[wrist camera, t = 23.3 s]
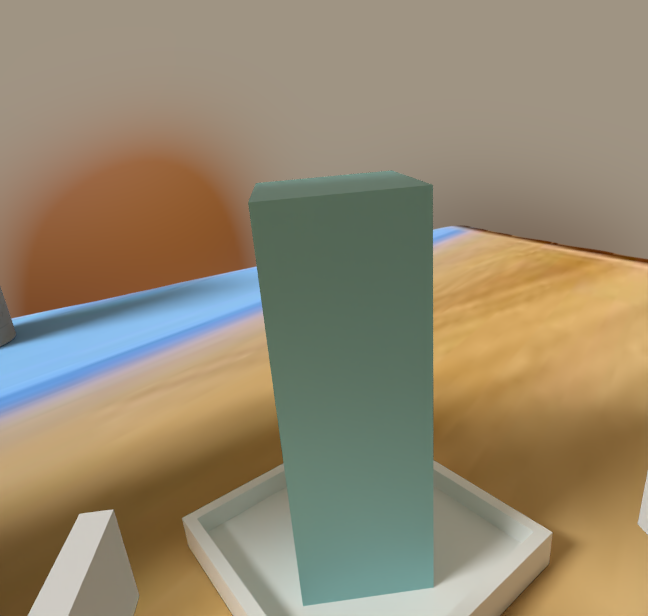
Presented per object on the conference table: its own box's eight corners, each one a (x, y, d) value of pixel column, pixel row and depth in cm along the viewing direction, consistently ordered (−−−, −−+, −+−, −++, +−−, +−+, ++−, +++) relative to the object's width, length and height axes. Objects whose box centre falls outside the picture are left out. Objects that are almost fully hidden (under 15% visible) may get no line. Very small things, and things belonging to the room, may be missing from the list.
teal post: (433, 587, 22) (432, 184, 16) (302, 606, 22) (248, 202, 15) (401, 494, 28) (391, 170, 21) (297, 508, 27) (255, 183, 21)
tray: (188, 546, 26) (181, 517, 26) (367, 443, 34) (365, 418, 33) (341, 783, 16) (336, 747, 16) (549, 563, 24) (552, 532, 23)
